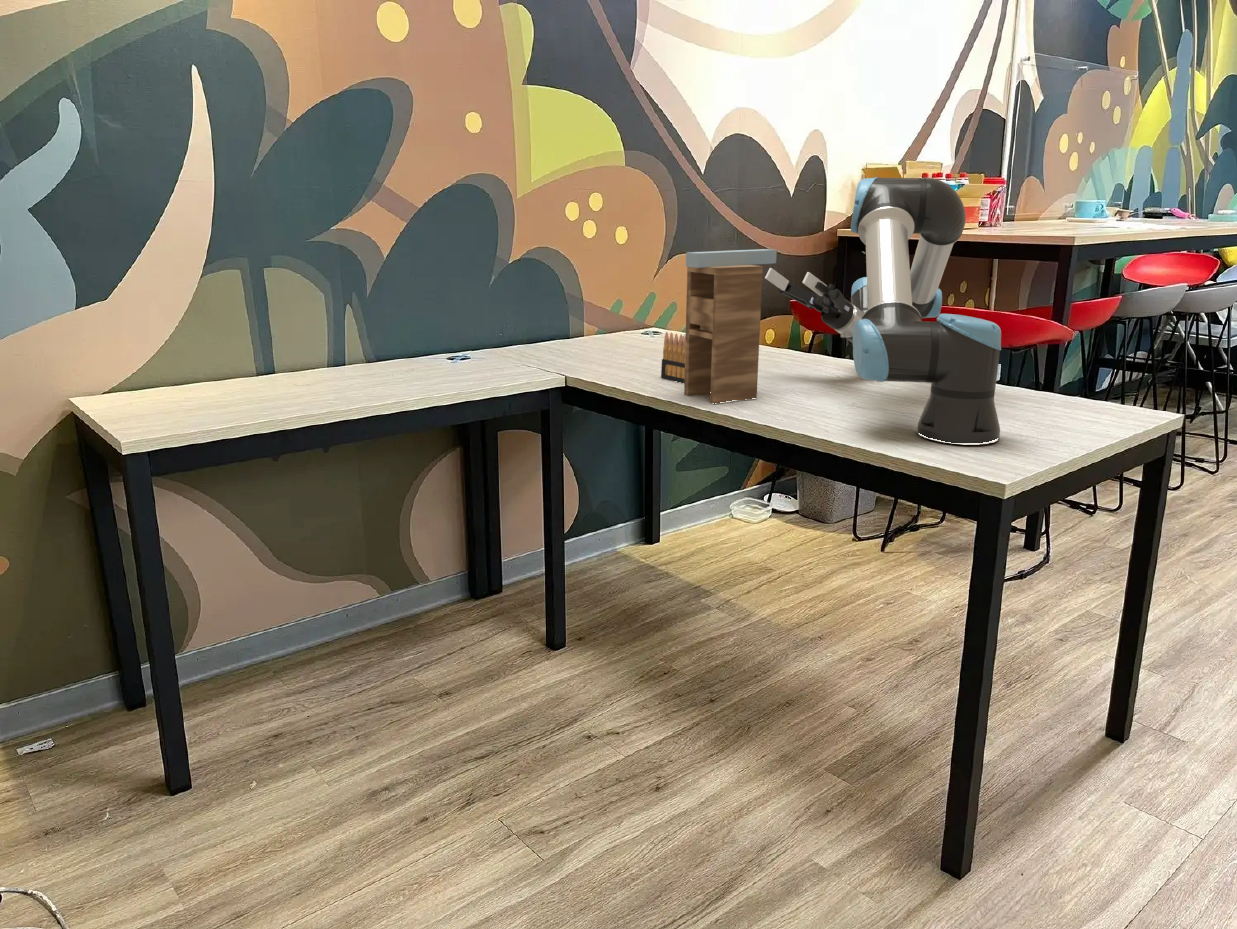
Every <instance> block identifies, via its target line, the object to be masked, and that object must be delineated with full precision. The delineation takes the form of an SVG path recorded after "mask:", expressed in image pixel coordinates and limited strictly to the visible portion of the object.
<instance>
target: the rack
mask: <svg viewBox="0 0 1237 929" xmlns="http://www.w3.org/2000/svg"><path fill="white" fill-rule="evenodd" d="M763 268H764V266H763V265H762V266H761V265H756V264H754V265H736V266H718V267H701V268H696V267H687V269H686V271H687V273H686V307H685V308H686V309H685V310H686V311H685V315H686V316H685V334H686V342H685V384H684V385H683V386H684V387H683V388H684V390H683V391H684V392H683V393H684V394H683V395H685V396H687V397H690V396H700V395H705V394H706V393H708V394H710V396H709V397H710V399H709V400H710V401H709V403H710V402H711V403H714V404H713V405H716V404H715V403H720V402H726V401H732V400H745V399H752V398H757V396H758V380H759V379H758V377H759V376H758V375H759V374H758V373H759V356H760V355H759V353H760V337H761V336H760V334H761V312H762V290H763V271H764V270H763ZM710 392H711V393H710ZM757 399H758V398H757ZM745 401H746V400H745ZM711 403H710V404H711Z"/></svg>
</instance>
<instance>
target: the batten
mask: <svg viewBox="0 0 1237 929" xmlns="http://www.w3.org/2000/svg"><path fill="white" fill-rule="evenodd" d="M777 252H778V251H777V249H767V248H763V249H762V248H761V249H760V248H759V249H738V250H737V249H736V250H715V251H714V250H712V251H711V250H710V251H692V252H691V251H690V252H685V267H696V268H701V267H718V266H736V265H770V264H777Z"/></svg>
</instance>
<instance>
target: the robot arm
mask: <svg viewBox="0 0 1237 929" xmlns="http://www.w3.org/2000/svg"><path fill="white" fill-rule="evenodd" d="M966 215H967V214H966V210H965V207H964V202H963V201H962V199H961V197H960V196H959V194H958V193H957V191H956V190H955V189H954V188H953V187H952V186H950V185H949V184H948V183H946V182H944V181H942V180H940V179H938V178H933V177H879V176H875V177H870V178H869V177H868V178H867V177H866V178H862V179H860V180H859V182H858V183H857V186H856V190H855V196H854V203H853V208H852V215H851V216H852V217H851V220H850V221H851V222H850V223H851V225H850V231H851V232H852V233H853V234H858V237H859V239H860V241H861V242H862V243H863V244H864V245H865V253H866V254H865V255H866V256H865V259H866V260H865V263H866V276H863V277H861V278H860V277H859V278H858V279H856V281H854V282H853V284H852V286H851V292H850V294H851V295H850V296H851V297H850V301H849V300H847V299H846V298H845V296H844V294H843V293H842V292H841V290H840V289H838V288H834V287H835V285H834V284H832V283H829V284H828V285H827V284H826V283H825V282H823V281H821V279H820V278H818V277H816V276H815V275H814V274H812V273H811V272H809V271H807V272H806V274H805V275H804V278H803V280H802V284H803V285H804V286H806V287H808V288H809V289H810V290H812V291H808V290H806V289H804V288H802V287H799V286H797V285H796V284H793V283H791V282H790V281H789V279H787V278H786V277H784V276H783V275H782V274H781V273H779V272H778V271H777V270H775V269H774V268H772V267H769V269H768V271H767V273H766V275H765V277H764V279H766V280H767V282H768V281H769V282H770V283H771V284H772V285H774V286H775V287H777V288H778V290H777V292H778V293H779V294H780V295H784V296H786V297H788V298H790V299H792V300H794V301H796V302H798V303H799V304H801V305H803V306H805V307H806V308H808V309H809V310H812V309H814V310H815V311H817V312H819V313H820V316H821V320H822V322H823V323H825V325H827V326H828V327H830V328H831V329H833V330H834V331H836V332H837V333H838V334H840V338H842V339H844V338H845V339H846V340H848V341H849V342H850V343H852V357H853V364H854V368H855V371H856V374H857V375H858V377H860V379H862V380H865V381H875V382H880V383H884V382H893V383H895V382H897V383H898V382H899V383H902V382H903V383H929V384H931V386H930V393H929V394H930V395H929V397H928V399H927V402H926V404H925V407H924V408H923V411H922V412H921V415H920V417H919V419H918V422H917V430H916V432H917V431H918V433H920V434H922V435H924V436H926V437H928V438H933V439H937V440H941V441H945V442H951V443H983V442H989V441H992V440H995V439H997V438H999V439H1000V435H1001V428H1000V423H999V422H1000V421H999V417H998V413H997V408H996V404H995V394H996V386H997V376H998V368H999V360H1000V354H1001V353H1000V352H1001V351H1002V330H1001V327H1000V326H999V325H998V324H997V323H995V322H993V321H991V320H986V319H983V318H978V317H974V316H968V315H963V314H955V313H954V314H952V313H941V310H942V306H943V292H942V290H941V289H940V287H939V286H940V284H941V281H942V277H943V275H944V271H945V269H946V267H947V263H948V260H949V258H950V255H951V253H952V249H953V246H954V244H955V243H956V242H957V241H959V239H960V238H961V237H962V235H963V233H964V229H965V226H966V220H967V219H966V217H967V216H966ZM913 234H919V235H920V236H919V240H918V243H917V247H916V249H915V254H914V256H913V261H912V264H911V268H910V254H909V253H910V252H909V240H910V239H911V237H912V236H913ZM927 318H929V319H930V318H936V321H923V320H922V319H927Z"/></svg>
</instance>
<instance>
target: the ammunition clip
mask: <svg viewBox="0 0 1237 929" xmlns="http://www.w3.org/2000/svg"><path fill="white" fill-rule="evenodd" d="M669 334H670V335H669ZM684 335H685V334H684ZM663 339H664V341H663V348H662V349H663V352H662V358H661V369H660V370H661V372H660V373H661V374H660V379H661V378H662V380H666V381H671V382H674V381H677V382H676V383H679V382H681V383H680V384H683V383H684V384H685V342H686V335H685V338H684V343H683V334H680V335H679V336H678V333H677V332H675V334H673V332H670V333H668V331H666V332H665V335H664V338H663Z"/></svg>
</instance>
